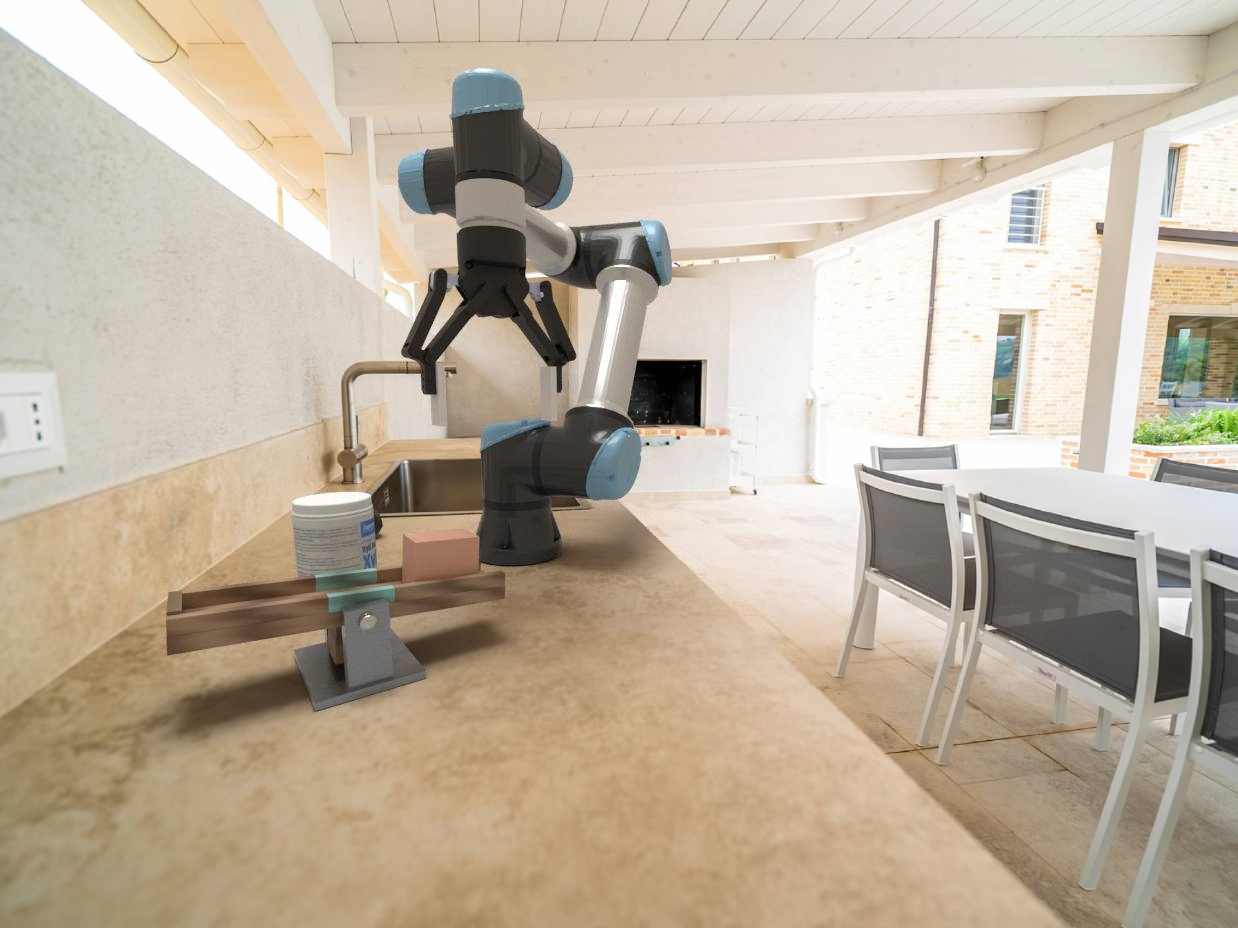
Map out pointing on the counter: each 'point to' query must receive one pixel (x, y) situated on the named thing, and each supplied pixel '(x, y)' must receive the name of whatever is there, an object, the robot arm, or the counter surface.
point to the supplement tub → (333, 533)
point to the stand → (358, 658)
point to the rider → (439, 555)
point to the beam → (310, 605)
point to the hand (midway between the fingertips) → (497, 423)
